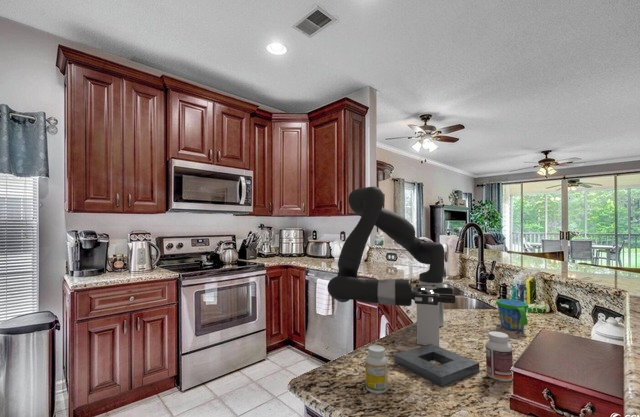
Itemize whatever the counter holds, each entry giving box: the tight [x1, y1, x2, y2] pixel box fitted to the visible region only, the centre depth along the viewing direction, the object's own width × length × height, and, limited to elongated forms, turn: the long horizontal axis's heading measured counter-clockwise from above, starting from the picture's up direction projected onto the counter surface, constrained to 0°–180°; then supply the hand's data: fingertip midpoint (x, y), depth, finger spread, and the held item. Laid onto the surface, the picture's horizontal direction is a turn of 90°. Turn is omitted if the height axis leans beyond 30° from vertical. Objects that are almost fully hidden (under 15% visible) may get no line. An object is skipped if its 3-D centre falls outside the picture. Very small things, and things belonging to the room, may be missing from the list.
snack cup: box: [495, 298, 529, 332], centre depth 122 cm, size 16×10×10 cm
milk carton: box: [416, 299, 440, 347], centre depth 107 cm, size 7×7×19 cm
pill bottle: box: [485, 331, 514, 383], centre depth 83 cm, size 6×6×11 cm
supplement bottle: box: [364, 344, 389, 395], centre depth 76 cm, size 5×5×10 cm
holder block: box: [393, 344, 480, 388], centre depth 87 cm, size 16×16×2 cm
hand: (453, 295), depth 87 cm, fingers open, 8 cm apart
